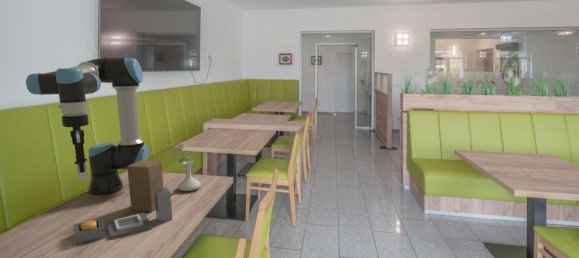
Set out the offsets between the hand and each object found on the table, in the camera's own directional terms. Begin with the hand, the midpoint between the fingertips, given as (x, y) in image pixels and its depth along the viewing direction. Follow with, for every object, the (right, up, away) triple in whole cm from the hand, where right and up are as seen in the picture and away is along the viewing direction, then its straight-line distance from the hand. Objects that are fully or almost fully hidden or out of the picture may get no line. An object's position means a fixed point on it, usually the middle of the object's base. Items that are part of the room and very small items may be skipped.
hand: (83, 180), depth 117 cm
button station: (0, -21, +4) cm, 21 cm away
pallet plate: (+11, -20, +11) cm, 25 cm away
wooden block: (+11, -16, +29) cm, 35 cm away
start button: (0, -19, +3) cm, 19 cm away
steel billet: (+22, -18, +17) cm, 34 cm away
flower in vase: (+22, -13, +49) cm, 55 cm away
